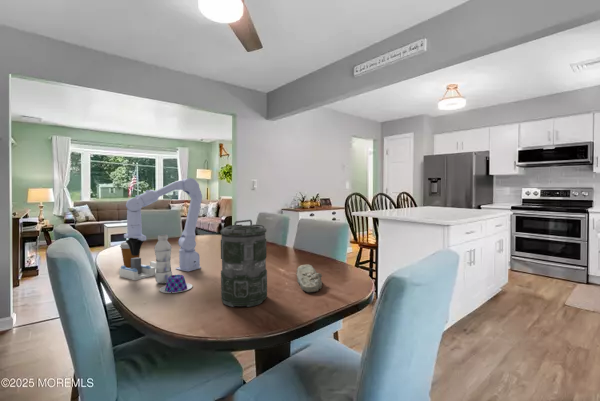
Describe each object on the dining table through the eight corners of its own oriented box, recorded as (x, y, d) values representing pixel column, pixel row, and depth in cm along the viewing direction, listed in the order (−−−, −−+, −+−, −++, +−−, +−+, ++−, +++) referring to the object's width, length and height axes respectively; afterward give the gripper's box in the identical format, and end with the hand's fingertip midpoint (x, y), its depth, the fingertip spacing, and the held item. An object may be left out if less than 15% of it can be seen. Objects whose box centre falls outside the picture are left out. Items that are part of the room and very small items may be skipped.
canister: (246, 289, 119) (246, 217, 118) (276, 298, 109) (275, 219, 108) (211, 301, 107) (210, 220, 105) (241, 312, 96) (240, 224, 95)
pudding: (158, 287, 122) (158, 274, 122) (190, 283, 128) (189, 270, 128) (160, 297, 112) (160, 282, 112) (194, 291, 117) (194, 278, 117)
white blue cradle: (168, 271, 145) (167, 262, 145) (134, 280, 131) (134, 269, 131) (153, 268, 151) (152, 259, 151) (119, 276, 138) (119, 266, 137)
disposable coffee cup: (135, 268, 150) (134, 244, 150) (116, 268, 150) (115, 244, 150) (145, 264, 160) (145, 241, 159) (127, 264, 160) (127, 241, 160)
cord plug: (141, 273, 138) (141, 257, 138) (134, 275, 136) (134, 259, 136) (137, 272, 140) (137, 257, 140) (131, 274, 138) (130, 258, 137)
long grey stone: (315, 272, 148) (294, 273, 148) (314, 261, 148) (294, 262, 148) (326, 292, 113) (299, 295, 113) (325, 278, 114) (298, 280, 113)
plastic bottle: (166, 285, 124) (165, 236, 123) (151, 284, 125) (150, 236, 124) (175, 281, 130) (174, 234, 129) (161, 280, 131) (160, 233, 131)
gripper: (116, 224, 137) (117, 255, 138) (134, 226, 130) (135, 258, 130) (132, 223, 143) (133, 252, 144) (150, 225, 136) (151, 255, 136)
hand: (135, 255), depth 137 cm, fingers closed
